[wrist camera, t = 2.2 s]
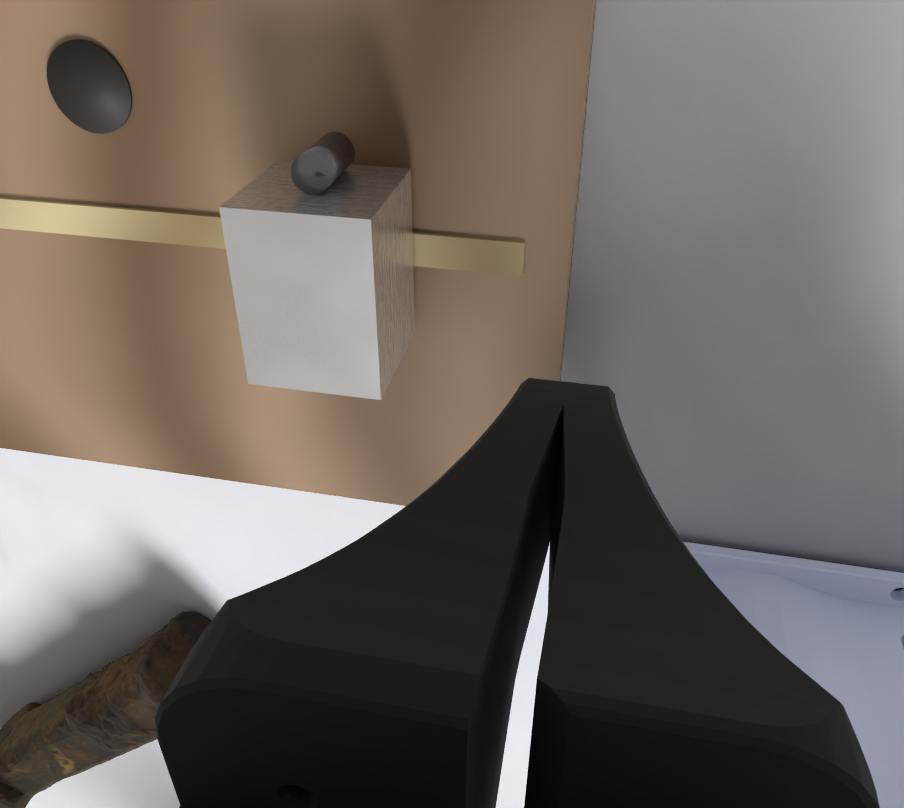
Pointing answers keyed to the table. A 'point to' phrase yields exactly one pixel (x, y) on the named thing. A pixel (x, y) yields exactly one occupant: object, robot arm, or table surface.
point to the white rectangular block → (323, 271)
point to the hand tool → (94, 715)
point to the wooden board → (233, 167)
